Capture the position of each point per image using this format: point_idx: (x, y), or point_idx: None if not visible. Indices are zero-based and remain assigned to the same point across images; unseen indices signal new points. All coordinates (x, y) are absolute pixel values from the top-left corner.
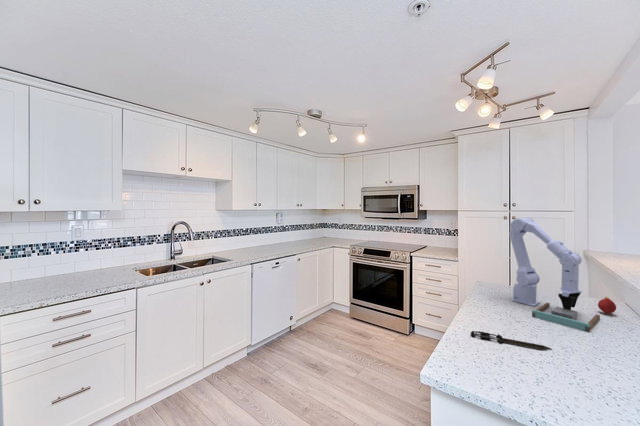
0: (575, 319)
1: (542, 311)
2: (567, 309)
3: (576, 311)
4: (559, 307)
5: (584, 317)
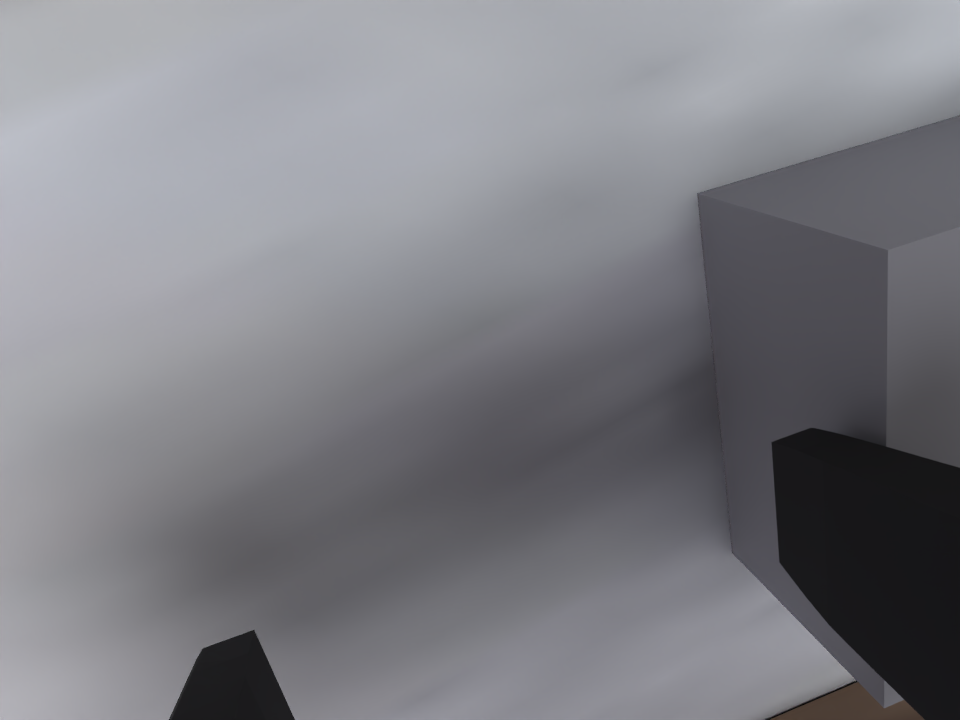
0: (888, 155)
1: (833, 711)
2: None
3: (920, 252)
4: None
5: (263, 223)
